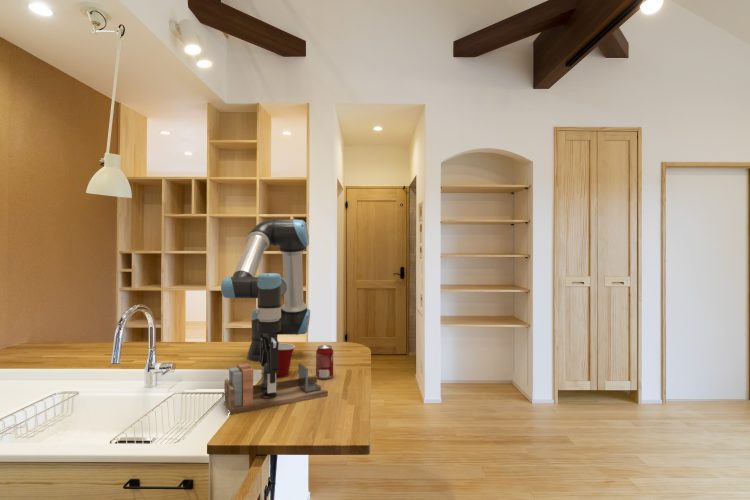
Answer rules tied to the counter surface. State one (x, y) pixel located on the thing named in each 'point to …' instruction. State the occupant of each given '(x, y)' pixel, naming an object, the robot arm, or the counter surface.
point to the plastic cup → (284, 358)
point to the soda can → (324, 362)
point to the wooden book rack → (247, 396)
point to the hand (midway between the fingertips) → (268, 388)
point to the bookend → (305, 380)
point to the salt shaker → (264, 385)
